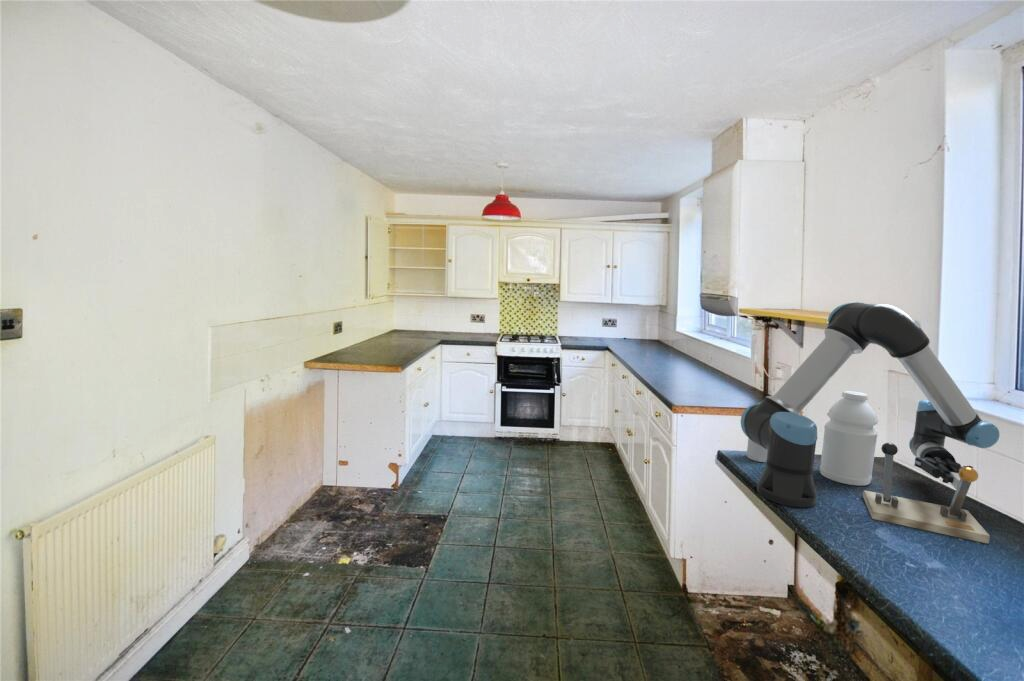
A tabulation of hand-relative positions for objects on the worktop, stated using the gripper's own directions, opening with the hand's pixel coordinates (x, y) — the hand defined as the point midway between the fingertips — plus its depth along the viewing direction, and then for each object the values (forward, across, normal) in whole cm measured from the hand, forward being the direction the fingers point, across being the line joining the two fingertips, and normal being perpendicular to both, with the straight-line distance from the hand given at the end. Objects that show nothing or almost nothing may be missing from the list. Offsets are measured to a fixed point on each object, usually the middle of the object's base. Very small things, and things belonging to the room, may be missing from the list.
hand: (961, 485), depth 124 cm
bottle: (-24, +22, -11) cm, 34 cm away
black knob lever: (-1, +14, -8) cm, 16 cm away
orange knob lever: (-1, 0, -8) cm, 8 cm away
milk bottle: (-27, +46, -11) cm, 55 cm away
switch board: (-1, +7, -11) cm, 13 cm away
